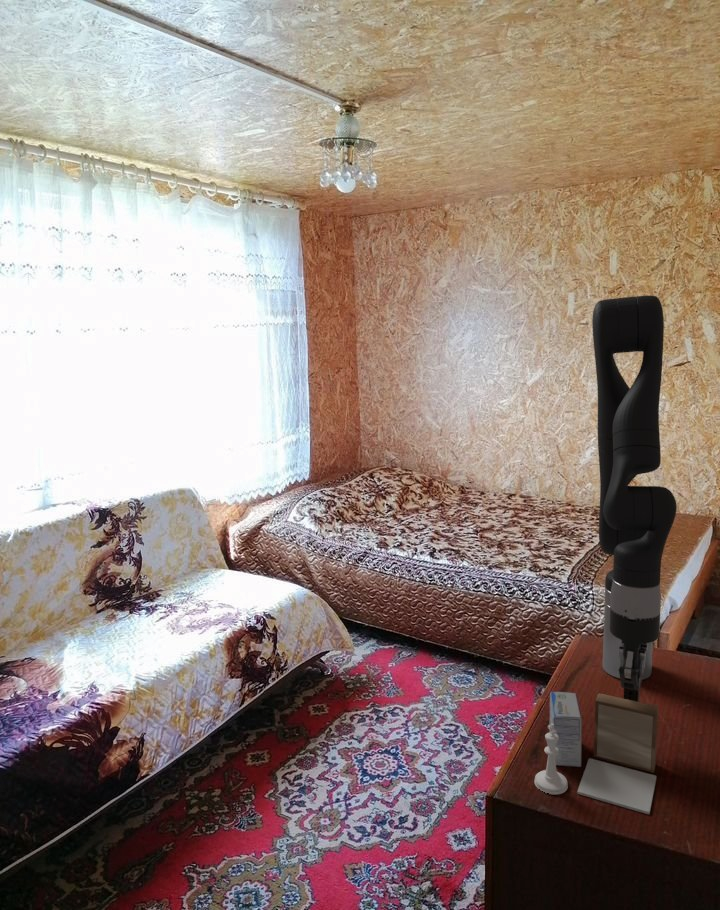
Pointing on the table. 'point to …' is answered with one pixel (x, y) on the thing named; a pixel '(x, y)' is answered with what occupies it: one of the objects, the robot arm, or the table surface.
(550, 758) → the chess piece
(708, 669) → the table surface
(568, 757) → the medicine box
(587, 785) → the mat
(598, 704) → the tile
